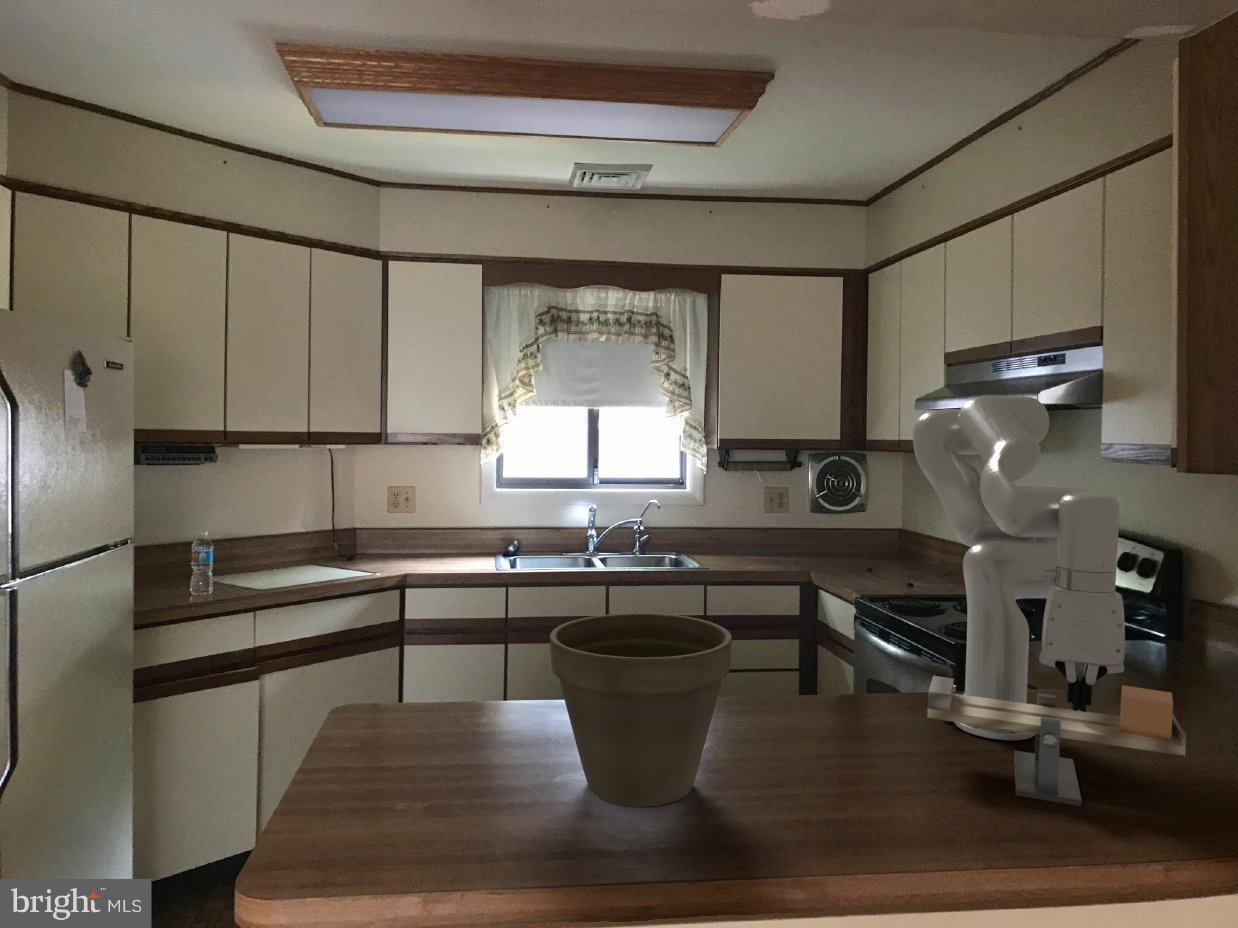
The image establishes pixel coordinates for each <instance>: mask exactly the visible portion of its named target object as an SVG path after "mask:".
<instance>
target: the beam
mask: <svg viewBox="0 0 1238 928" xmlns="http://www.w3.org/2000/svg"><path fill="white" fill-rule="evenodd" d="M954 680H955V679H954V678H952V677H945V676H938V675H937V676H936V675H932V679H931V682H930V686H929V689H928V697H927V715H926V718H927V719H933V720H940V721H941V720H942V721H948V722H960V723H967V724H974V725H980V726H987V727H994V728H1001V729H1007V730H1014V731H1021V732H1028V733H1034V734H1035V735H1036V734H1040V719H1041V718H1048V719H1055V720H1060V723H1061V725H1060V739H1069V740H1077V741H1083V742H1090V743H1097V744H1103V745H1109V746H1116V747H1117V746H1118V747H1123V748H1130V749H1136V750H1143V751H1148V752H1149V751H1150V752H1157V753H1164V754H1170V755H1178V756H1184V757H1185V756H1186V751H1187V750H1186V747H1187V745H1186V744H1187V734H1186V732H1185V731H1184V729H1183V728H1182V726H1181V724H1180V722H1179V721H1178V719H1177V718H1176V716H1175V715H1174V713H1173V715H1172V734H1171V741H1168V740H1162V739H1156V738H1150V737H1145V736H1139V735H1133V734H1128V733H1122V732H1119V728H1120V715H1114V714H1107V713H1105V714H1104V713H1098V712H1092V711H1086V712H1081V711H1080V710H1077V711H1073V709H1069V708H1062V707H1056V706H1055V707H1048V706H1041V705H1037V704H1034V703H1033V704H1032V703H1027V702H1026V703H1019V702H1011V701H1004V700H997V699H989V698H982V697H975V696H967V695H963V694H961V693H960V694H958V693H954Z"/></svg>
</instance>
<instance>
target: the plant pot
mask: <svg viewBox="0 0 1238 928" xmlns="http://www.w3.org/2000/svg"><path fill="white" fill-rule="evenodd" d="M732 641H733V637H732V634H731V632H730V631H729V630H728V629H726V628H725V627H724V626H721V625H719V624H717V623H714V622H711V621H708V620H704V619H699V618H695V617H691V616H686V615H685V616H684V615H678V614H677V615H676V614H666V613H652V612H651V613H649V612H647V613H646V612H645V613H644V612H638V613H637V612H636V613H633V612H632V613H631V612H630V613H613V614H603V615H595V616H589V617H584V618H583V617H582V618H579V619H575V620H571V621H568V622H565V623H563V624H561V625H558V626H556V627H555V628H554V629H553V630H552V631H551V632H550V634H549V647H550V662H551V670H552V673H553V674H554V675H555V676H556V678H558V679H559V683H560V687H561V691H562V695H563V698H564V703H565V707H566V710H567V714H568V719H569V721H570V725H571V729H572V734H573V737H574V740H575V743H576V747H577V752H578V755H579V760H580V764H581V767H582V770H583V773H584V777H585V779H586V782H587V785H588V787H589V790H590V791H591V792H592V793H593V794H594V795H595V796H597V797H598V798H599V799H601V800H604V801H606V802H609V803H612V804H615V805H620V806H625V807H638V808H649V807H650V808H651V807H658V806H659V807H660V806H665V805H668V804H672V803H675V802H678V801H679V800H681V799H682V800H683V798H685V797H686V796H688V794H690V793H691V791H692V790H693V786H694V784H695V781H696V777H697V773H698V771H699V767H700V763H701V759H702V756H703V752H704V748H705V744H706V740H707V737H708V733H709V730H710V725H711V722H712V719H713V715H714V713H715V709H716V708H715V707H716V704H717V700H718V698H719V697H718V696H719V693H720V688H721V684H722V680H724V679H725V678H726V677H727V675H729V672H730V669H731V658H732V643H733V642H732Z"/></svg>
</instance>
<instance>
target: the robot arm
mask: <svg viewBox="0 0 1238 928" xmlns="http://www.w3.org/2000/svg"><path fill="white" fill-rule="evenodd" d="M1049 417H1050V416H1049V412H1048V411H1047V408H1046V407H1045V405H1044V404H1043V403H1042V402H1040V400H1038V399H1037V398H1034V397H1031V396H1026V395H1025V396H1024V395H980V396H976V397H973V398H971V399H969V400H968V401H966V402H964V404H963V405H962V406H961V407H960V408H945V409H937V410H931V411H928V412H925V413H924V414H921V416H919V418H917V420H916V421H915V423H914V426H913V431H912V444H913V447H912V448H913V451H914V455H915V458H916V461H917V464H918V466H919V468H920V470H921V472H922V473H923V475H924V476H925V477H926V479H927V480H928V482H929V483H930V484H931V486H932V487H933V489H934V490H935V491H936V494H937V495H938V498H939V499H940V502H941V505H942V507H943V509H944V511H945V514H946V516H947V518H948V520H949V523H950V525H951V527H952V530H953V531H954V533H955V536H956V537H957V539H958V540H959V541H960V542H961V543H962V544H963V545H965V546H966V547H969V548H968V550H967V551H966V552H965V554H964V556H963V557H964V558H963V559H962V572H963V579H964V585H965V591H966V593H965V594H966V607H967V610H966V611H967V613H966V614H967V615H966V617H967V620H966V622H967V623H966V624H967V625H966V627H967V628H966V654H965V682H964V684H965V685H964V692H963V693H962V695H967V696H975V697H982V698H989V699H997V700H1004V701H1011V702H1019V703H1026V704H1027V701H1028V700H1027V697H1028V696H1027V695H1028V675H1029V673H1028V669H1029V646H1030V645H1029V642H1030V627H1029V624H1028V620H1027V618H1026V617H1025V615H1024V613H1023V612H1022V610H1021V608H1020V607H1019V606H1018V604H1017V602H1016V600H1022V599H1046V602H1045V606H1044V613H1043V619H1042V621H1043V622H1042V627H1041V649H1040V652H1039V656H1038V661H1039V663H1041V664H1043V665H1046V666H1048V667H1051V668H1055V669H1056V670H1058V671H1059V672H1060V674H1061V675H1062V676H1063V677H1064V678H1065V679H1066V680H1067V681H1066V682H1067V683H1066V702H1067V703H1069V704H1070V705H1071V710H1073V711H1077V710H1078V711H1081V712H1087V706H1092V697H1093V685H1094V684H1095V683H1096V682H1097V681H1098V680H1100V679H1101V678H1102V677H1104V676H1106V674H1119V673H1123V672H1125V666H1124V665H1125V664H1124V660H1125V653H1126V652H1125V651H1126V650H1125V649H1126V648H1125V647H1126V639H1125V638H1126V637H1125V636H1126V630H1125V629H1126V628H1125V627H1126V624H1125V623H1126V622H1125V610H1124V601H1123V595H1122V594H1121V593H1119V592H1118V591H1116V582H1117V566H1118V565H1117V564H1118V563H1117V562H1118V548H1119V545H1118V544H1119V529H1120V510H1121V509H1120V506H1121V505H1120V503H1119V500H1118V499H1117V498H1116V497H1114V496H1113V495H1109V494H1104V493H1103V494H1102V493H1097V492H1096V493H1093V492H1090V491H1088V490H1087V489H1083V488H1079V487H1065V486H1064V487H1063V486H1062V487H1057V486H1018V485H1017V484H1015V483H1014V482H1015V481H1017V480H1020V479H1022V478H1023V477H1025V476H1026V475H1028V474H1029V473H1030V472H1032V471H1033V470H1034V469H1035V468H1036V466H1037V465H1038V463H1039V461H1040V459H1041V453H1042V449H1041V446H1040V442H1042V441H1043V440H1044V439H1045V437H1046V436H1047V434H1048V432H1049V429H1050V418H1049ZM960 455H961V456H960ZM962 455H963V456H964V455H967V456H969V455H970V456H975V455H976V456H979V457H980V459H981V461H983V463H984V466H983V469H982V472H981V471H980V470H979V469H978V468H977V467H976V466H975V465H973V464H972V463H971V462H969V461H968V460H966V459H965V458H963V457H962ZM1076 664H1081V665H1082V664H1083V665H1085V666H1084V671H1083V674H1082V675H1081V677H1080V679H1079V677H1078V675H1077V672H1076ZM954 724H955V726H956V727H957V728H958V729H960V730H962V731H963V732H966V733H968V734H971V735H974V736H977V737H983V738H986V739H991V740H998V741H1021V740H1028V739H1031V738H1034V736H1036V734H1034V733H1028V732H1021V731H1014V730H1007V729H1001V728H994V727H987V726H980V725H974V724H967V723H960V722H954Z"/></svg>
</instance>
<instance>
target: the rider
mask: <svg viewBox="0 0 1238 928" xmlns="http://www.w3.org/2000/svg"><path fill="white" fill-rule="evenodd" d="M1119 712H1120V713H1119V716H1120V728H1119V732H1122V733H1128V734H1133V735H1139V736H1145V737H1150V738H1156V739H1162V740H1168V741H1171V734H1172V715H1173V714H1174V701H1173V692H1170V691H1163V690H1155V689H1150V688H1144V687H1143V688H1141V687H1136V686H1129V685H1123V684H1122V685H1121V695H1120V711H1119Z"/></svg>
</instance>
